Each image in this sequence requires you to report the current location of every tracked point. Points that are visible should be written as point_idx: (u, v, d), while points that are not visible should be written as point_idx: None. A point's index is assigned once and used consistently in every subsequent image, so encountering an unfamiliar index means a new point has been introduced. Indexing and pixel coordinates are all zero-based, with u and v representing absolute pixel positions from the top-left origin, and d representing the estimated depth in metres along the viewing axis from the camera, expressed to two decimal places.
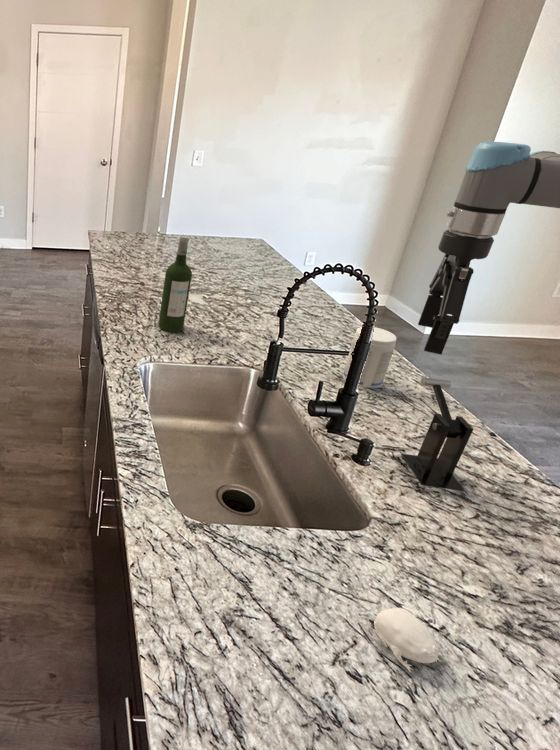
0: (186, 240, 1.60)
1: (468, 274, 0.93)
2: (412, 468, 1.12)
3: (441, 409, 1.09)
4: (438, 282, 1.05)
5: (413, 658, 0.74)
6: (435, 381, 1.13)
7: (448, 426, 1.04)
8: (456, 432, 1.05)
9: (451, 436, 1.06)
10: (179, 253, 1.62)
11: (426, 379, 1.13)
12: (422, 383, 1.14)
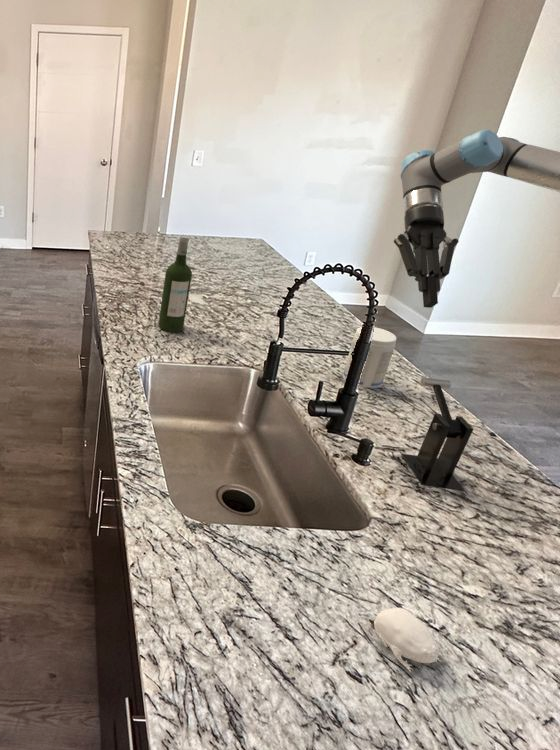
0: (186, 240, 1.60)
1: (399, 239, 1.24)
2: (412, 468, 1.12)
3: (441, 409, 1.09)
4: (427, 261, 1.23)
5: (413, 658, 0.74)
6: (435, 381, 1.13)
7: (448, 426, 1.04)
8: (456, 432, 1.05)
9: (451, 436, 1.06)
10: (179, 253, 1.62)
11: (426, 379, 1.13)
12: (422, 383, 1.14)
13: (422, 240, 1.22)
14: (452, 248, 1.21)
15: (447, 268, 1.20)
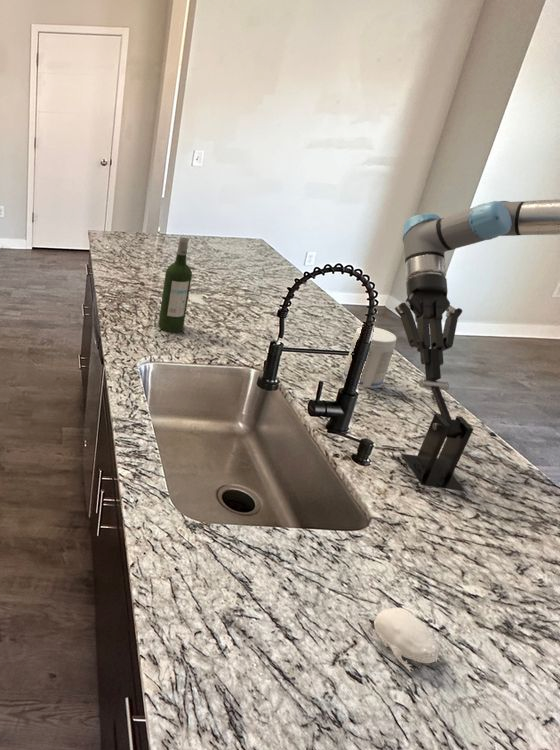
0: (186, 240, 1.60)
1: (401, 308, 1.19)
2: (412, 468, 1.12)
3: (440, 410, 1.09)
4: (430, 330, 1.19)
5: (414, 658, 0.74)
6: (433, 383, 1.13)
7: (448, 426, 1.04)
8: (456, 432, 1.05)
9: (451, 436, 1.06)
10: (179, 253, 1.62)
11: (424, 381, 1.14)
12: (421, 385, 1.14)
13: (424, 310, 1.18)
14: (456, 319, 1.17)
15: (450, 340, 1.15)
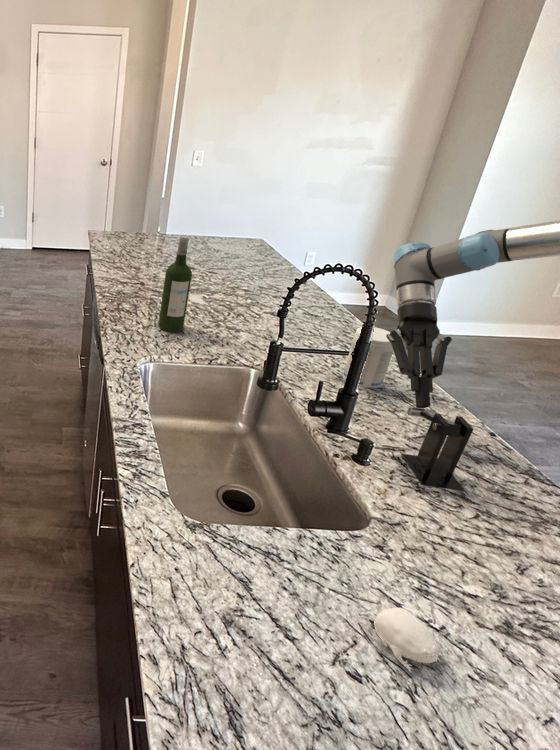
0: (186, 240, 1.60)
1: (391, 336, 1.22)
2: (412, 468, 1.12)
3: None
4: (420, 358, 1.21)
5: (414, 658, 0.74)
6: (420, 409, 1.17)
7: (448, 426, 1.04)
8: (457, 426, 1.05)
9: (454, 434, 1.05)
10: (179, 253, 1.62)
11: None
12: (409, 412, 1.17)
13: (415, 338, 1.20)
14: (445, 347, 1.19)
15: (440, 368, 1.18)
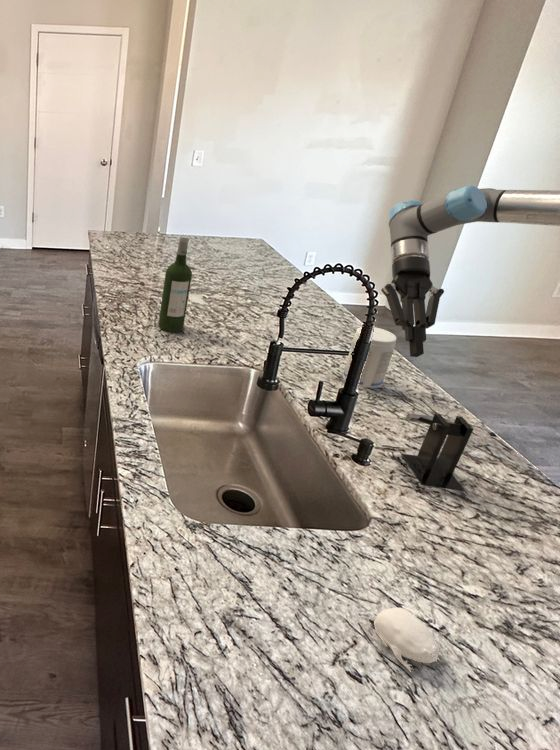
0: (186, 240, 1.60)
1: (386, 289, 1.27)
2: (412, 468, 1.12)
3: None
4: (414, 310, 1.26)
5: (414, 658, 0.74)
6: (419, 415, 1.17)
7: (448, 426, 1.04)
8: (457, 426, 1.05)
9: (455, 433, 1.05)
10: (179, 253, 1.62)
11: (410, 413, 1.18)
12: (408, 418, 1.17)
13: (409, 290, 1.25)
14: (438, 298, 1.24)
15: (433, 318, 1.23)
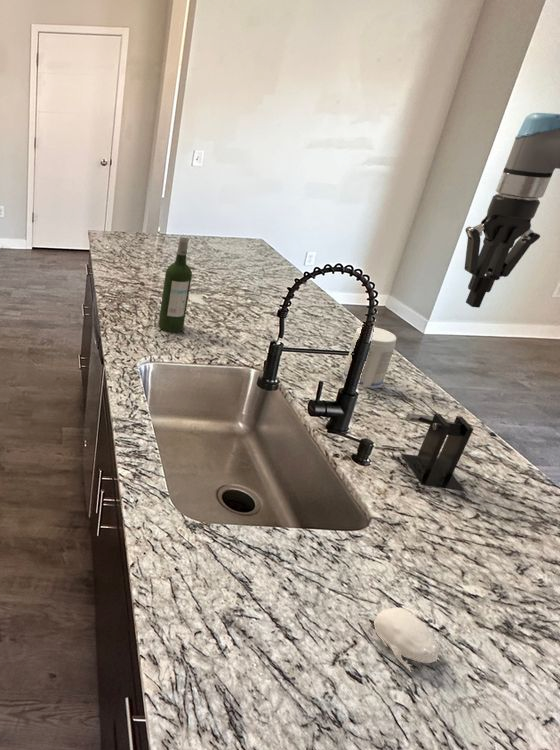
0: (186, 240, 1.60)
1: (470, 234, 1.11)
2: (412, 468, 1.12)
3: None
4: (494, 253, 1.13)
5: (414, 658, 0.74)
6: (419, 415, 1.17)
7: (448, 426, 1.04)
8: (457, 426, 1.05)
9: (455, 433, 1.05)
10: (179, 253, 1.62)
11: (410, 413, 1.18)
12: (408, 418, 1.17)
13: (496, 239, 1.10)
14: (527, 246, 1.10)
15: (509, 269, 1.12)
